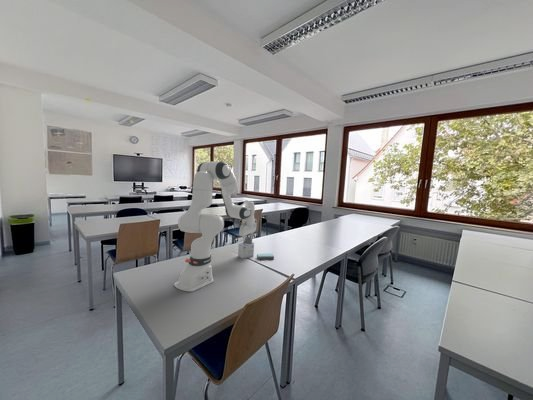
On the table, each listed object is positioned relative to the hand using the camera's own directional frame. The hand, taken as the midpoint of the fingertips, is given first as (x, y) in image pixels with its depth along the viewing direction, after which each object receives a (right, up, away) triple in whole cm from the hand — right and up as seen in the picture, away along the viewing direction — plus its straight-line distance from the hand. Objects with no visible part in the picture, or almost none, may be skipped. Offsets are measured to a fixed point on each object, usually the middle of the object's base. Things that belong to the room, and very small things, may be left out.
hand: (247, 239), depth 170 cm
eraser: (+14, -15, -1) cm, 20 cm away
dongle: (-1, -3, +1) cm, 3 cm away
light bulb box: (-2, -14, +2) cm, 14 cm away
